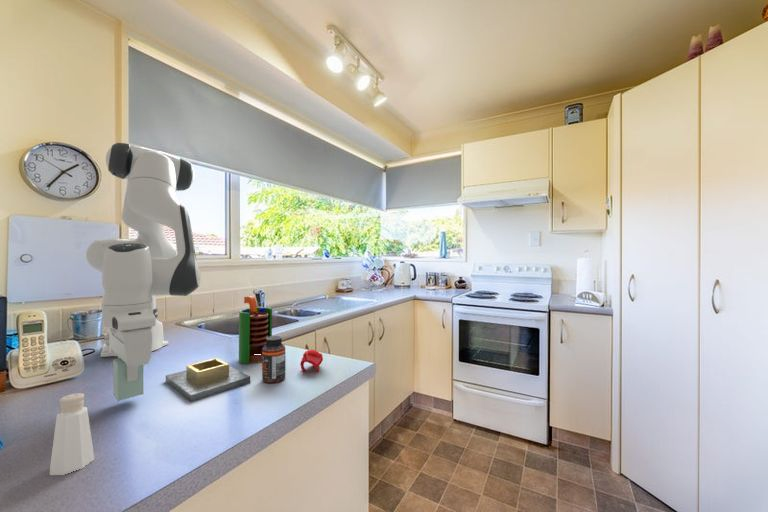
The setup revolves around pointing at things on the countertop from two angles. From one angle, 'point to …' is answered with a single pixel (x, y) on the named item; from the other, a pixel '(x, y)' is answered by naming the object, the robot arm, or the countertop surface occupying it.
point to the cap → (312, 359)
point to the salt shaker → (71, 437)
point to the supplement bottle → (273, 360)
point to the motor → (253, 331)
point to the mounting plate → (206, 379)
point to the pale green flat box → (125, 381)
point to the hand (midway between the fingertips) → (128, 376)
